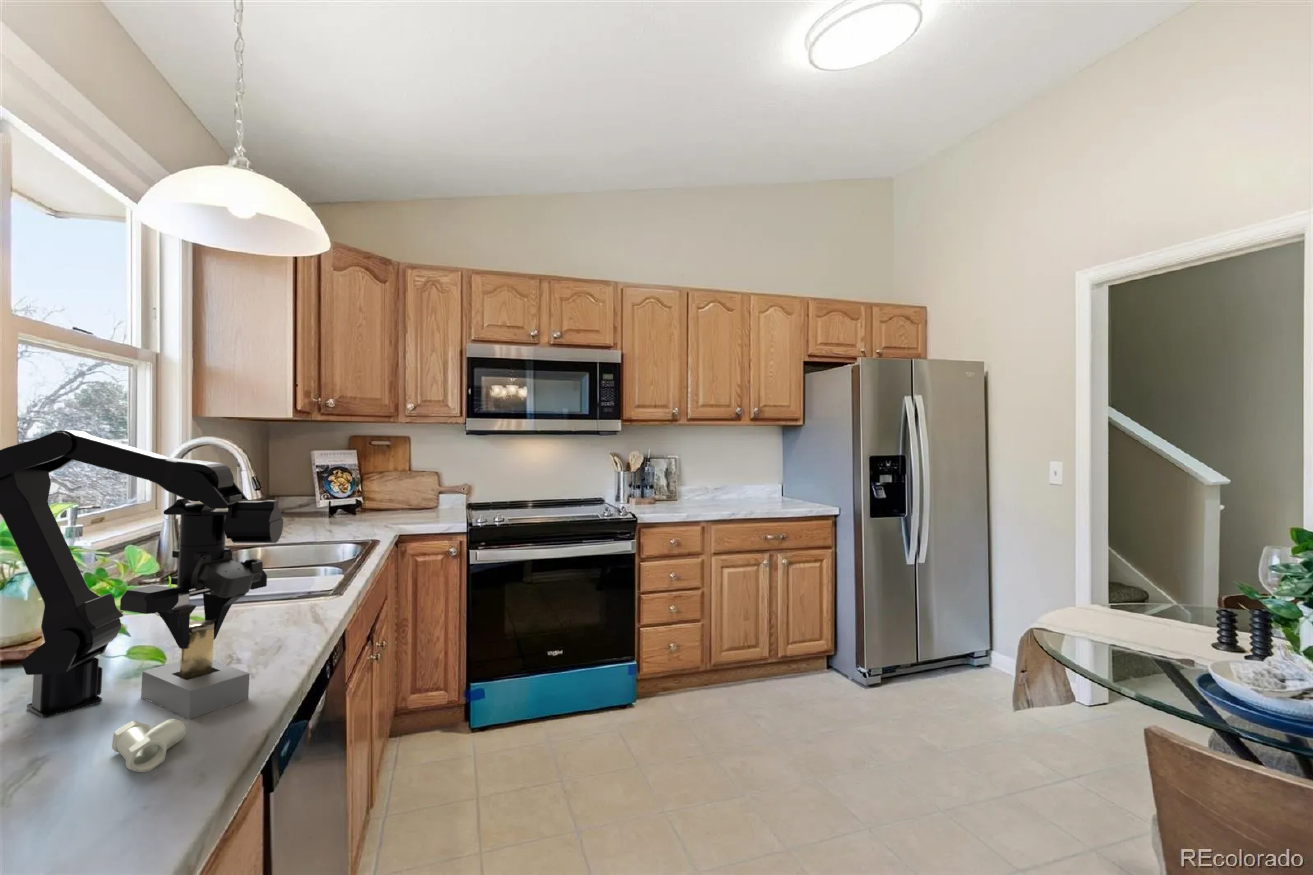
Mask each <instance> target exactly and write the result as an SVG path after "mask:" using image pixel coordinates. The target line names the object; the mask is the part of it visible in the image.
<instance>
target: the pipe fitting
mask: <svg viewBox="0 0 1313 875" xmlns="http://www.w3.org/2000/svg"><path fill="white" fill-rule="evenodd" d="M185 734H186V727H185V724H184V723H183V722H182V721H181V720H179V719H176V718H169V719H166V720H164V721H163V722H161V723H159V724H158V725H156V726H155V727H153V728H152V727H151V726H150V725H149V724H146V723H143V722H140V721H135V720H132V721H129V722H128V723H125V724H124V725H122V726H121V727H119V728H117V730H115V731H114V732H113V736H112V742H111V750H113V751H114V752H115V753H118V754H120V755H121V756H122V757H123V758H124V759H125V766H126V768H128V770H131V771H134V772H138V773H146V772H149V771H152V770H153V769H155V768H156V767H157V766H159V765H160V764H161V763H163V762H164V761H165V758H166V753H167V750H169V749H170V748H171V747H174V746H175V745H176V744H177V743H179V742H180V741H181V740H182V739H183V738H184V736H185Z"/></svg>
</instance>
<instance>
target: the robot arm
mask: <svg viewBox="0 0 1313 875" xmlns="http://www.w3.org/2000/svg"><path fill="white" fill-rule="evenodd" d="M73 461H76V462H81V463H84V464H87V465H91V466H95V467H99V468H102V469H106V470H109V471H113V472H117V473H121V474H125V475H128V476H132V477H136V478H139V479H143V480H146V481H148V482H151V483H153V484H156V485H158V486H159V487H160V488H162V489H163V490H164V491H165V492H166V491H167V492H168V493H171V494H173V495H176V496H177V497H180V498H177V499H176V501H175V502H174V503H173V504H172V505H170V506H169V507H168V508H166V509H164V510H163V514H164V515H167V516H180V518H179V519H180V521H179V523H180V524H179V543H178V549H175V550H172V552H171V553H172V554H171V558H174V559H175V558H176V559H178V561H177V563H178V564H177V576H173V577H170V585H174V586H173V587H172V586H171V587H170V586H163V585H162V586H161V585H155V584H150V585H145V586H139V587H135V588H130V589H126V591H125V592H124V593H123V594H122V596H121V597H120V602H119V603H120V605H119V609H118V608H117V604H116V601H115V597H114V596H113V594H112V593H110V592H109V593H106V594H104V595H102V596H99V595H98V594H97V593H95V592H94V591H92V590H91V588H89V587H88V585H87V583H86V581H85V579H84V577H83V575H82V572H81V571H80V568H79V566H78V564H77V561H76V560H75V557H74V556H73V554H72V553H73V552H71V549H70V547H69V545H68V543H67V540H66V539H65V537H64V535H63V532H62V530H61V528H60V526H59V524H58V522H57V520H56V518H55V516H54V513H53V511H52V510H51V509H52V508H51V507H50V504H49V496H50V491H51V484H52V482H51V477H50V473H52V472H55V471H58V470H59V469H62V468H65V467H66V466H67V465H69V464H70V463H71V462H73ZM192 502H193V503H192ZM194 502H195V503H194ZM196 502H200V503H196ZM0 515H1V517H2V519H3V521H4V522H5V525H6V527H7V530H8V531H9V533H10V535H11V538H12V540H13V542H14V544H15V545H16V548H17V550H18V552H19V554H20V556H21V558H22V560H23V563H24V565H25V566H26V569H27V571H28V572H29V575H30V577H31V580H32V581H33V583H34V585H35V587H36V589H37V591H38V594H39V595H40V598H41V599H42V602H43V606H44V609H43V613H42V614H43V615H42V620H41V626H40V627H41V628H40V629H41V634H42V637H43V638H42V639H43V641H44V642H43V643H42V644H41V645H40V646H38V647H37V648H36V649H35V650H34V651H32V652H31V653H30V654H28V655H27V656H26V657H24V659H22V660H21V666H22V667H23V670H24V672H25V674H26V675H27V676H30V675H31V676H33V679H32V680H33V682H32V694H31V696H32V698H31V699H32V700H31V703H28V704H27V705H26V709H27V710H29V711H31V712H33V713H34V714H36V715H38V716H39V717H41V718H43V719H44V718H50V717H53V716H56V715H59V714H63V713H67V712H72V711H75V710H78V709H81V708H85V707H88V706H92V705H95V704H98V703H101V702H103V698H102V697H100V695H101V694H102V685H103V684H102V683H103V667H101V666H100V665H99V660H100V659H99V658H97V657H98V656H99V655H102V654H104V653H105V651H106V650H107V647H108V645H109V643H111V642H113V641H114V640H115V639H116V638H117V636H118V634H119V633H120V631H121V630H122V622H121V619H120V618H122V617H124V613H122V612H121V611H125V612H129V613H130V612H132V613H137V614H138V613H139V614H144V615H148V614H156V613H157V614H158V616H160V618H161V619H162V620H163V622H164V623H165V625H166V627H167V629H168V630H169V632H170V634H171V636H172V638H173V639H174V641H175V643H176V644H177V646H178V648H179V649H180V650H181V649H185V648H187V645H188V640H189V623H190V622H191V620H190V619H191V617H190V616H191V614H192V613H193V612H194V610H195V609H196V608H197V605H195V604H190V597H195V596H198V595H202V596H203V597H202V598H203V599H202V601H203V610H204V612H203V613H204V620H212V621H214V622H215V623H214V641H215V639H216V638H217V636H218V634H219V632H220V629H221V627H222V625H223V623H224V622H225V618H226V616H227V614H228V613H229V610H230V609H231V607H232V605H233V604H235V602H237V601H239V599H240V598H244V597H245V596H246V595H247V593H249V592H250V590H257V589H260V588H265V587H267V586H268V583H267V582H268V575H267V573H266V572H265V570H264V567H263V565H264V564H263V560H261V559H260V558H257V557H255V558H249V559H245V560H244V561H243V560H242V561H234V559H233V551H232V548H227V547H226V539H227V540H228V539H230V540H231V542H232V543H234V544H277V543H278V542H279V540H280V539H281V537H282V533H283V530H284V529H283V528H284V518H283V516H282V512H281V509H280V508H279V500H277V499H267V500H249V499H248V498H247V496H246V495H245V493H243V491H242V490H241V489H240V488H239V486H238V485H237V483H236V482H235V478H234V474H233V472H232V470H231V468H230V467H229V466H228V465H225V464H224V463H220V462H215V461H206V460H198V459H188V458H187V459H186V458H178V457H177V458H176V457H169V456H166V455H163V454H159V453H157V452H156V453H155V452H151V451H149V450H144V449H141V448H138V447H134V446H130V445H127V444H123V443H120V442H116V441H112V440H109V439H106V438H102V437H99V436H95V435H91V434H89V433H87V431H81V430H70V429H69V430H63V429H60V430H55V431H53V432H51V433H49V434H46V435H43V436H41V437H38V438H35V439H31V440H27V441H25V442H21V443H18V444H14V445H11V446H7V447H5V448H1V449H0Z"/></svg>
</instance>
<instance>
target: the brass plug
mask: <svg viewBox="0 0 1313 875" xmlns="http://www.w3.org/2000/svg"><path fill="white" fill-rule="evenodd" d="M214 623H215V622H214V621H212V620H205V619H203V620H194V621H190V623H189V640H188V645H187V648H185V649H181V648H180V661H179V662H180V678H182V679H185V680H189V679H193V678H196V677H200V676H203V675H207V674H210V673H212V665H213V660H214V642H215V640H214Z"/></svg>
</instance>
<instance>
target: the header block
mask: <svg viewBox="0 0 1313 875" xmlns="http://www.w3.org/2000/svg"><path fill="white" fill-rule="evenodd" d="M249 691H250V672H248V671H245V670H241V669H239V668H236V667H233V666H231V665H227V664H225V663H222V662H219V661H216V660H214V659H213V665H212V673H210V674H207V675H203V676H200V677H196V678H193V679H189V680H185V679H182V678H180V661H177V662H172V663H168V664H165V665H164V664H163V665H161V666H158V667H157V666H156V667H153V668H150V669H145V670H142V673H141V691H140V692H141V694H140V697H141V698H142V697H143V698H142V699H144V698H145V699H144V700H146V699H147V701H148V700H150V701H149V702H151V701H152V702H151V703H153V702H154V703H153V704H155V705H157V704H158V705H157V706H159V705H161V706H162V708H164V709H166V710H168V711H170V712H173V713H175V714H177V715H180V716H181V717H184V718H186V719H188V720H190V719H193V718H197V717H198V716H203V715H205V714H208V713H210V712H214V711H217V710H220V709H223V708H227V707H229V706H232V705H234V704H238V703H241V702H244V701H247V700H249ZM161 706H160V707H161Z"/></svg>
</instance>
